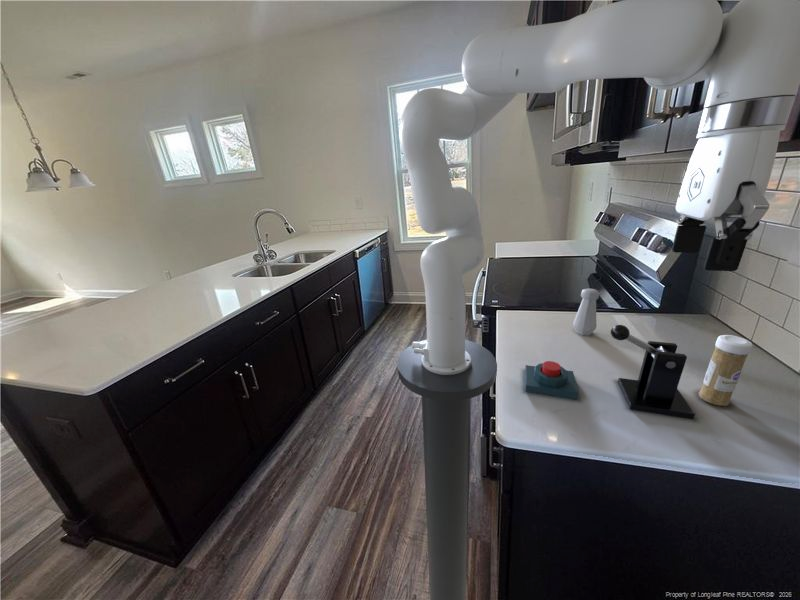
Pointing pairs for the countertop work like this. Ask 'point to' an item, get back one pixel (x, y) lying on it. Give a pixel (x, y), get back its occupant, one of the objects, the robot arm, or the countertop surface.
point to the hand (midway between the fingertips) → (700, 260)
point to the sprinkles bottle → (724, 369)
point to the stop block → (550, 382)
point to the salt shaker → (586, 312)
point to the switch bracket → (658, 384)
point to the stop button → (551, 369)
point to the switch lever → (634, 339)
